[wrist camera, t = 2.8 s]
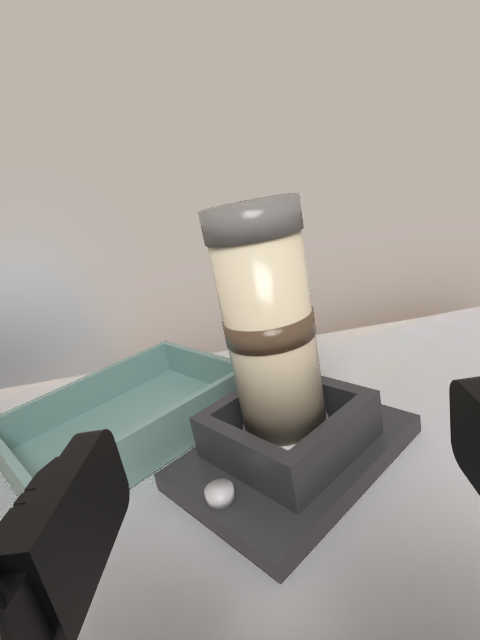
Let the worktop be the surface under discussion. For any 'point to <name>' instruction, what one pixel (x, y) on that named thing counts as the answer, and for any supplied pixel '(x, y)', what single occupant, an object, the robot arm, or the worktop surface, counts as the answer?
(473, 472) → the robot arm
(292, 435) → the cylinder
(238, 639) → the worktop surface
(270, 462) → the fuse holder
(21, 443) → the parts tray
